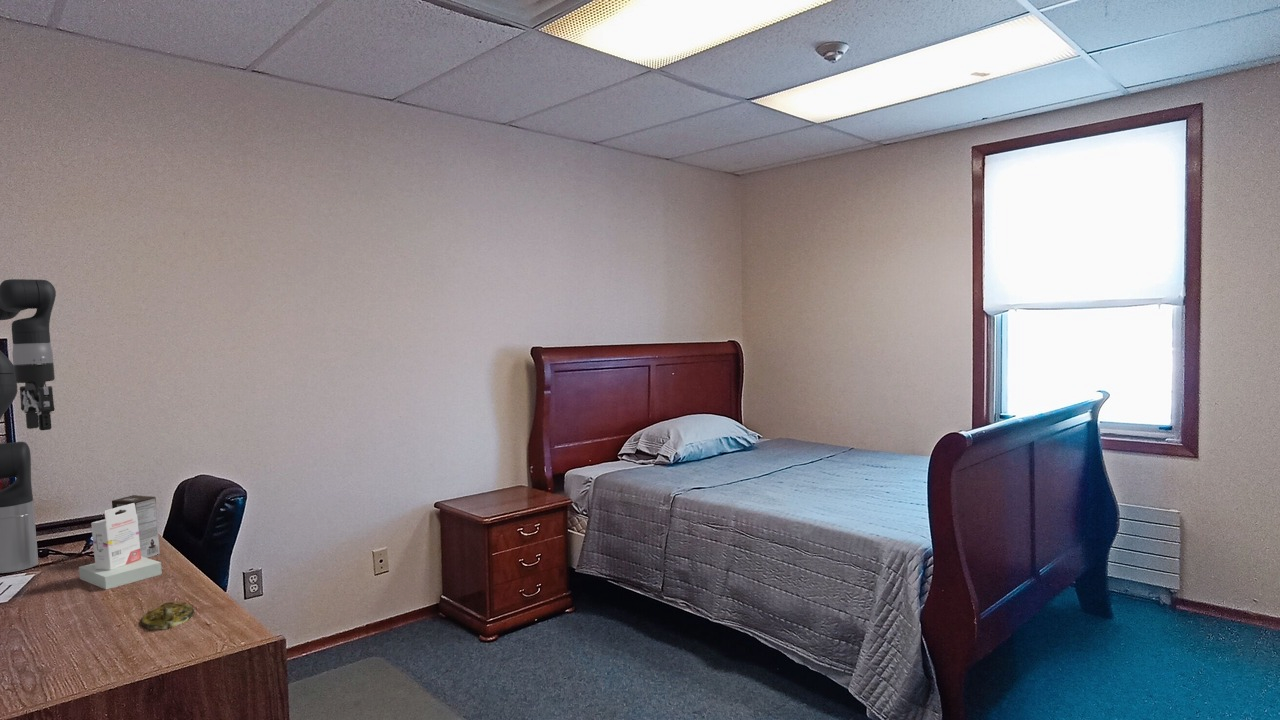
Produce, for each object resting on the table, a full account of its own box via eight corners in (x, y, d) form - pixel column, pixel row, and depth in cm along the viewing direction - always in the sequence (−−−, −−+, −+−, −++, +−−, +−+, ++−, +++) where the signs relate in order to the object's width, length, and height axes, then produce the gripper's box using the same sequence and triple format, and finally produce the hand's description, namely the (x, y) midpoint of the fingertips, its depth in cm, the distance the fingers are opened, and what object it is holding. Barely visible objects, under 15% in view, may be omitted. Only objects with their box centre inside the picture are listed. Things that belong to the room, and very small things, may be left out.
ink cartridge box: (126, 558, 189) (122, 501, 189) (141, 559, 188) (137, 502, 187) (93, 569, 181) (89, 510, 180) (109, 570, 180) (104, 510, 179)
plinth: (79, 578, 184) (78, 567, 184) (134, 564, 194) (133, 553, 194) (106, 589, 175) (105, 577, 175) (161, 574, 185) (160, 562, 185)
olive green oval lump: (140, 619, 158) (145, 640, 146) (136, 598, 158) (140, 618, 146) (190, 603, 164) (199, 622, 152) (186, 583, 163) (194, 600, 151)
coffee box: (114, 559, 200) (109, 500, 200) (137, 551, 206) (132, 494, 206) (139, 561, 197) (134, 501, 196) (161, 553, 203) (157, 495, 203)
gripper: (3, 363, 180) (9, 430, 180) (24, 363, 171) (30, 432, 172) (42, 361, 186) (47, 425, 187) (63, 361, 178) (68, 428, 178)
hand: (39, 429), depth 179 cm, fingers open, 8 cm apart
